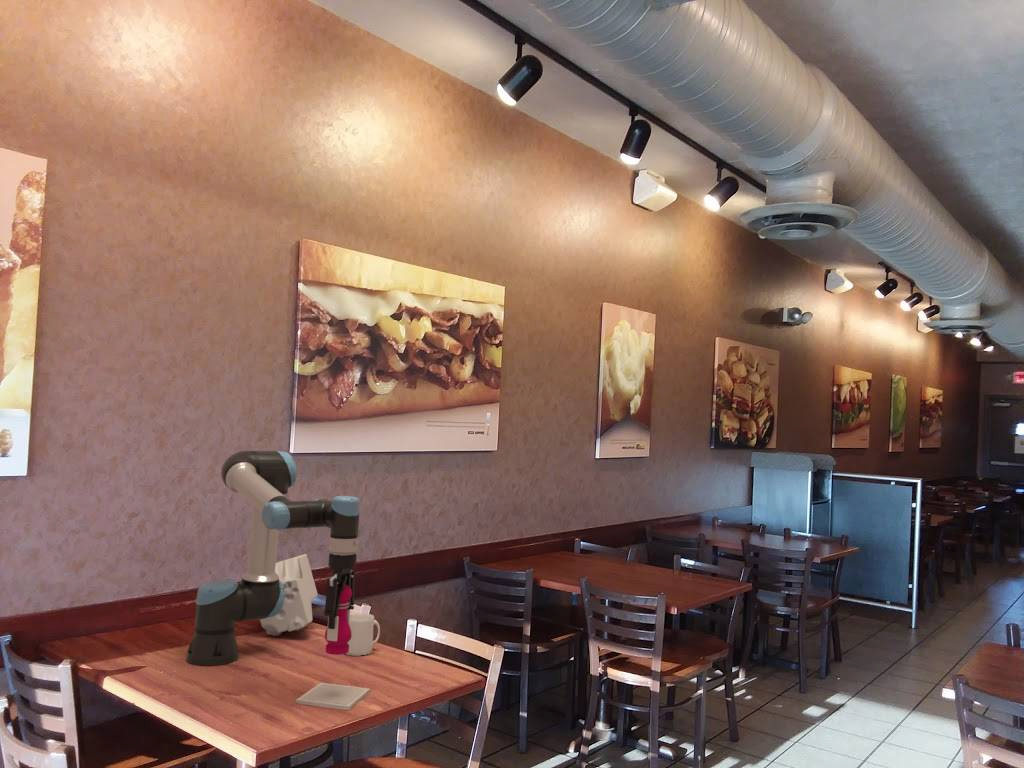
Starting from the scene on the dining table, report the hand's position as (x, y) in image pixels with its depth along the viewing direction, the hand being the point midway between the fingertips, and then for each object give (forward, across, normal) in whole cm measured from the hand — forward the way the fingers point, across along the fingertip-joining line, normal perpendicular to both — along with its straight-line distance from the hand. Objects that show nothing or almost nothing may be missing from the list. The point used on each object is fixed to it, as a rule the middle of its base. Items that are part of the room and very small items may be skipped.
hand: (338, 636), depth 220 cm
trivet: (+17, 0, 0) cm, 17 cm away
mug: (+17, +43, +10) cm, 47 cm away
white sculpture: (+17, +55, +44) cm, 72 cm away
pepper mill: (+4, 0, 0) cm, 4 cm away
